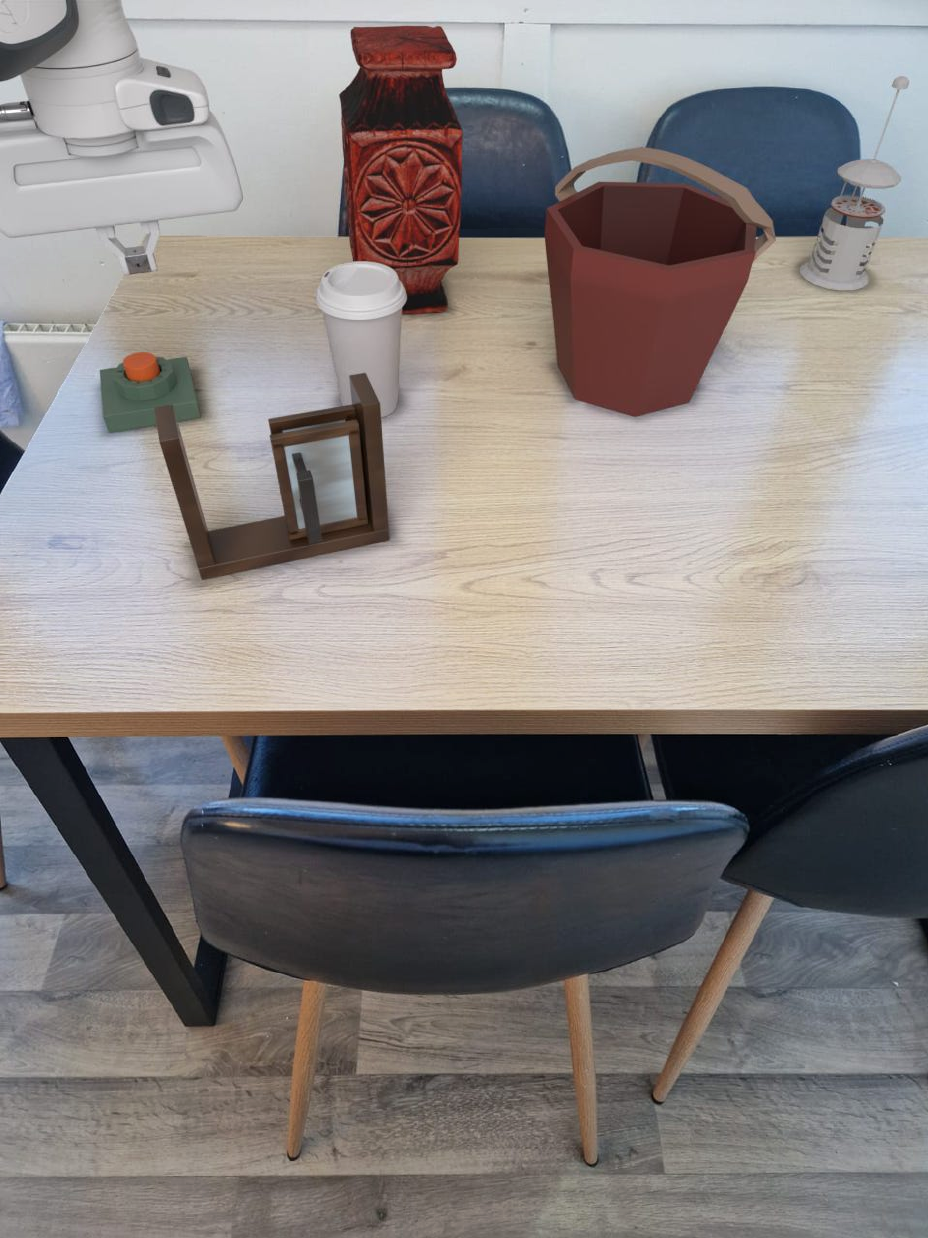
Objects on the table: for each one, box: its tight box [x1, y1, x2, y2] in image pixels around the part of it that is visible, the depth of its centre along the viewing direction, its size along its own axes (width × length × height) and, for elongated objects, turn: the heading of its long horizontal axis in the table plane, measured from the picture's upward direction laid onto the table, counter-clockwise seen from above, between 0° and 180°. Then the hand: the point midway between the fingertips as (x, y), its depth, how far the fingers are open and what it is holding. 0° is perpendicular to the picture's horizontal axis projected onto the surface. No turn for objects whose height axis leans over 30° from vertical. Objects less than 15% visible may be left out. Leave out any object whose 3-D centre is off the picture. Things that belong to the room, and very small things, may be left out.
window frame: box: [154, 373, 390, 581], centre depth 75 cm, size 18×5×16 cm, turn 109°
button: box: [122, 351, 160, 382], centre depth 93 cm, size 4×4×2 cm
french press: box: [799, 75, 910, 291], centre depth 113 cm, size 10×12×25 cm
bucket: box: [544, 146, 777, 418], centre depth 92 cm, size 24×22×25 cm
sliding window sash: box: [269, 420, 368, 544], centre depth 74 cm, size 8×5×11 cm
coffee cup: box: [315, 261, 407, 419], centre depth 91 cm, size 10×10×15 cm
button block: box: [99, 356, 202, 434], centre depth 95 cm, size 10×10×4 cm
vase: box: [338, 25, 464, 316], centre depth 104 cm, size 14×14×30 cm
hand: (140, 270), depth 75 cm, fingers closed
